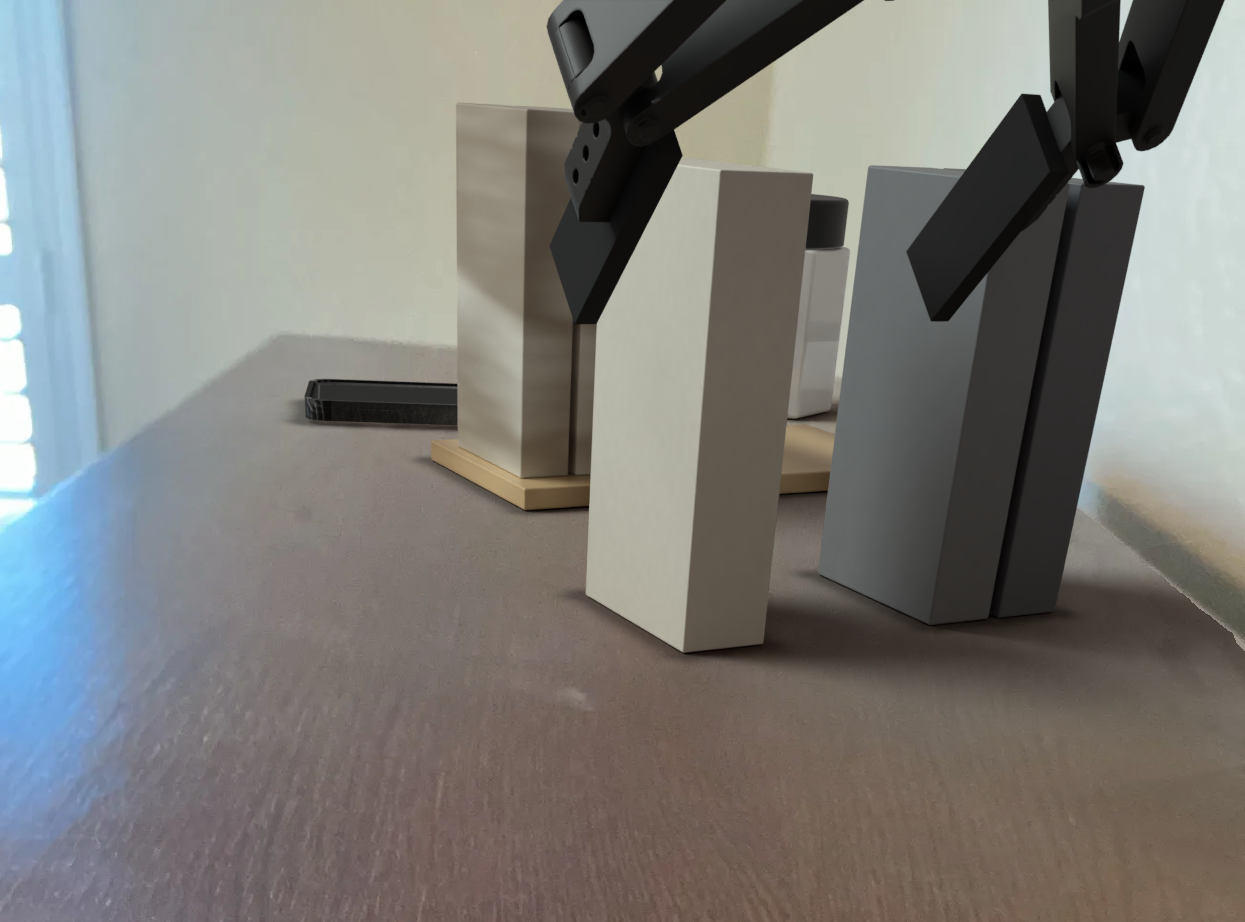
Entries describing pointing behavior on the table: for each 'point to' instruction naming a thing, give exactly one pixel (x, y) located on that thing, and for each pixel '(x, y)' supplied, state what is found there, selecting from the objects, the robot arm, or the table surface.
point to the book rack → (535, 323)
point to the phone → (382, 402)
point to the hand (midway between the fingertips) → (759, 287)
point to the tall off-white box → (697, 406)
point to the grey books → (971, 404)
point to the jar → (820, 307)
